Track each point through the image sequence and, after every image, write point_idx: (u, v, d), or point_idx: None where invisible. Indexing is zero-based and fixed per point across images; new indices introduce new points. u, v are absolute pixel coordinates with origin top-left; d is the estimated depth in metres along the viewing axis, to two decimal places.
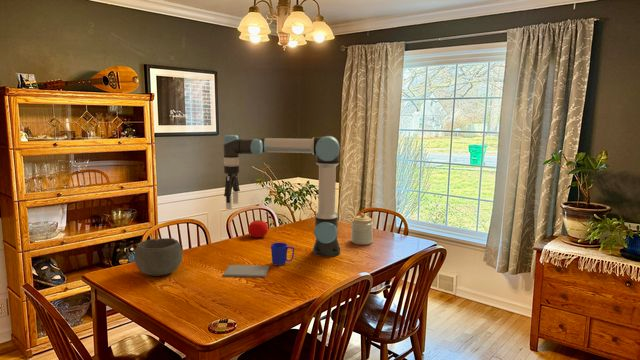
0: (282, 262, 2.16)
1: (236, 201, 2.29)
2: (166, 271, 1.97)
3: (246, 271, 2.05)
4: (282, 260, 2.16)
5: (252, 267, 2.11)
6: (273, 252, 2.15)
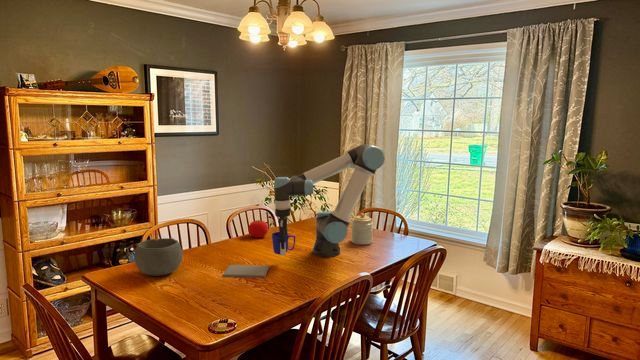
0: None
1: None
2: (166, 271, 1.97)
3: (246, 271, 2.05)
4: None
5: (252, 267, 2.11)
6: (274, 241, 2.14)
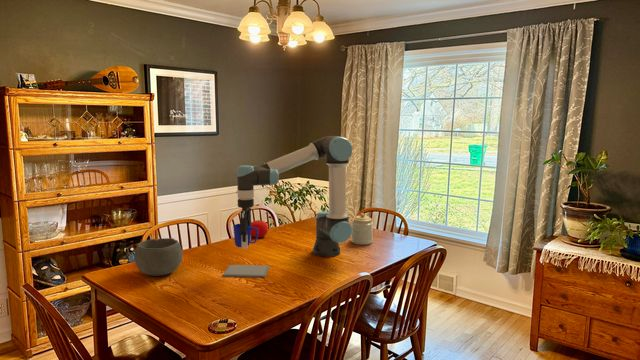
0: None
1: None
2: (166, 271, 1.97)
3: (246, 271, 2.05)
4: None
5: (252, 267, 2.11)
6: (235, 233, 2.02)
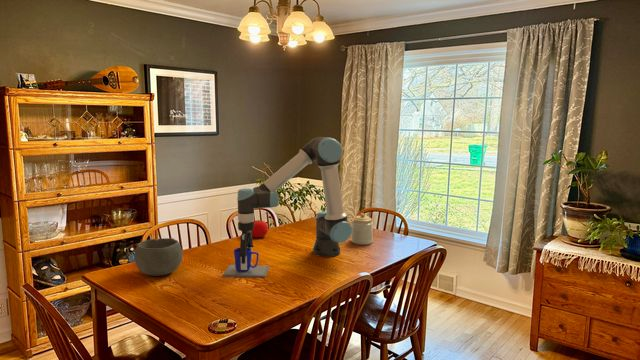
0: None
1: None
2: (166, 271, 1.97)
3: (246, 271, 2.05)
4: None
5: None
6: (236, 258, 2.03)
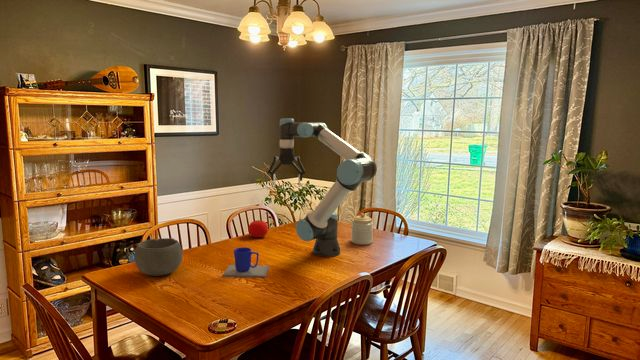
0: (246, 268, 2.04)
1: None
2: (166, 271, 1.97)
3: (246, 271, 2.05)
4: (245, 266, 2.04)
5: None
6: (236, 258, 2.03)
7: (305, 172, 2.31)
